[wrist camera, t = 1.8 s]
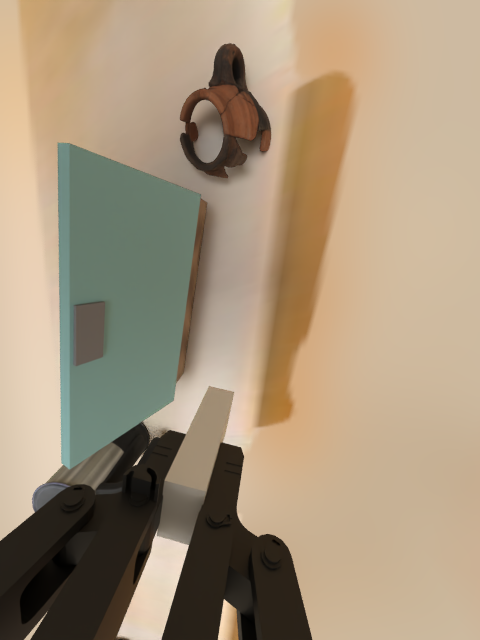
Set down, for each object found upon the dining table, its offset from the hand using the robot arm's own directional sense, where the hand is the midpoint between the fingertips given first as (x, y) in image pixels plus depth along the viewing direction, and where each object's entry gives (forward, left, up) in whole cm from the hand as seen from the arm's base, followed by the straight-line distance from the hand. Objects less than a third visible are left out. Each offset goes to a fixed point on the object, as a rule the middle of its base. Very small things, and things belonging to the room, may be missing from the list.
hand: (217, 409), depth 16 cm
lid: (0, -11, -11) cm, 16 cm away
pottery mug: (-22, -7, -25) cm, 34 cm away
